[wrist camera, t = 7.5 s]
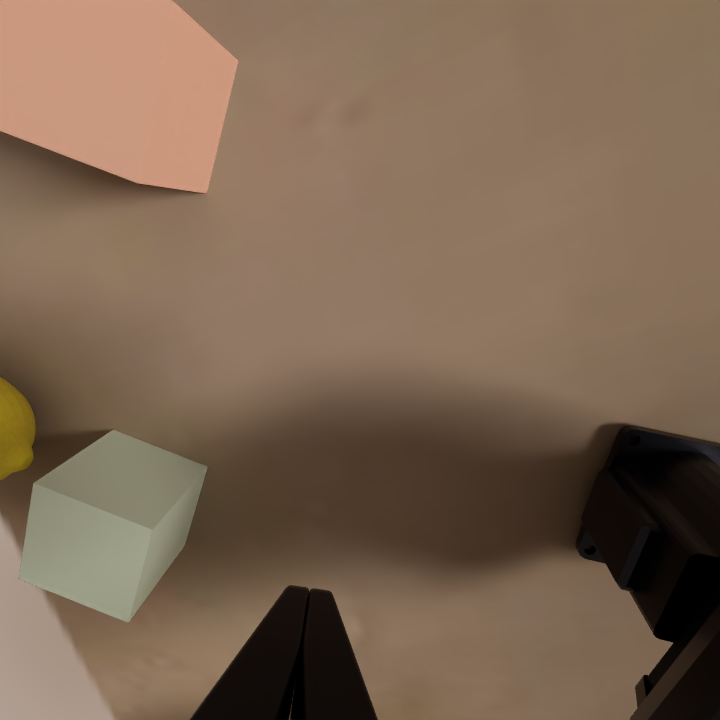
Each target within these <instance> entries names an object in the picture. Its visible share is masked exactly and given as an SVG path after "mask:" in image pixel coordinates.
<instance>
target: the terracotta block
mask: <svg viewBox="0 0 720 720" xmlns="http://www.w3.org/2000/svg"><path fill="white" fill-rule="evenodd" d="M237 64H238V60H237V59H236V58H235V57H234V56H232V55H231V54H230V53H229V52H228V51H227V50H226V49H225V48H224V47H223V46H221V45H220V44H219V43H218V42H217V41H216V40H215V39H214V38H213V37H212V36H211V35H209V34H208V33H207V32H206V31H205V30H204V29H203V28H202V27H201V26H200V25H198V24H197V23H196V22H195V21H194V20H193V19H192V18H191V17H190V16H189V15H187V14H186V13H185V12H184V11H183V10H182V9H181V8H180V7H179V6H178V5H177V4H175V3H174V2H173V1H172V0H0V131H2V132H4V133H7V134H10V135H12V136H15V137H18V138H20V139H23V140H25V141H28V142H31V143H33V144H36V145H39V146H41V147H44V148H46V149H49V150H52V151H54V152H57V153H59V154H62V155H65V156H67V157H70V158H73V159H75V160H78V161H80V162H83V163H86V164H88V165H91V166H94V167H96V168H99V169H101V170H104V171H107V172H109V173H112V174H115V175H117V176H120V177H122V178H125V179H128V180H130V181H133V182H135V183H140V184H146V185H153V186H160V187H166V188H173V189H180V190H186V191H193V192H200V193H206V194H207V190H208V186H209V182H210V178H211V173H212V169H213V165H214V161H215V157H216V152H217V148H218V144H219V140H220V136H221V131H222V127H223V123H224V119H225V115H226V110H227V106H228V102H229V98H230V94H231V89H232V85H233V81H234V77H235V73H236V68H237Z"/></svg>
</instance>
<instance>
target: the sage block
mask: <svg viewBox="0 0 720 720" xmlns="http://www.w3.org/2000/svg"><path fill="white" fill-rule="evenodd" d="M207 468H208V467H207V466H205V465H202V464H200V463H197V462H195V461H192V460H189V459H187V458H184V457H182V456H179V455H177V454H174V453H171V452H169V451H166V450H164V449H161V448H159V447H156V446H154V445H151V444H148V443H146V442H143V441H141V440H138V439H136V438H133V437H130V436H128V435H125V434H123V433H120V432H118V431H115V430H112V431H110V432H109V433H107V434H106V435H104V436H103V437H101V438H100V439H98V440H97V441H95V442H94V443H92V444H91V445H89V446H88V447H86V448H85V449H83V450H82V451H80V452H79V453H77V454H76V455H74V456H73V457H72V458H70V459H69V460H67V461H66V462H64V463H63V464H61V465H60V466H58V467H57V468H55V469H54V470H52V471H51V472H49V473H48V474H46V475H45V476H43V477H42V478H40V479H39V480H37V481H36V482H34V483H33V489H32V495H31V502H30V508H29V515H28V521H27V528H26V534H25V541H24V547H23V554H22V560H21V567H20V573H19V580H22V581H24V582H27V583H29V584H32V585H35V586H37V587H40V588H42V589H45V590H47V591H50V592H52V593H55V594H57V595H60V596H62V597H65V598H67V599H70V600H72V601H75V602H77V603H80V604H82V605H85V606H87V607H90V608H93V609H95V610H98V611H100V612H103V613H105V614H108V615H110V616H113V617H115V618H118V619H120V620H123V621H125V622H128V623H129V621H130V620H131V619H132V617H133V616H134V615H135V613H136V612H137V610H138V609H139V608H140V606H141V605H142V604H143V602H144V601H145V599H146V598H147V597H148V595H149V594H150V593H151V591H152V590H153V589H154V587H155V586H156V584H157V583H158V582H159V580H160V579H161V578H162V576H163V575H164V573H165V572H166V571H167V569H168V568H169V567H170V565H171V564H172V563H173V561H174V560H175V558H176V557H177V556H178V554H179V553H180V552H181V550H182V549H183V547H184V546H185V544H186V540H187V537H188V533H189V530H190V526H191V523H192V519H193V516H194V513H195V509H196V506H197V502H198V499H199V495H200V492H201V489H202V485H203V482H204V478H205V475H206V471H207Z"/></svg>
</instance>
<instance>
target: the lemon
mask: <svg viewBox="0 0 720 720" xmlns="http://www.w3.org/2000/svg"><path fill="white" fill-rule="evenodd" d="M35 432H36V423H35V417H34V414H33V411H32V409H31V407H30V405H29V403H28V401H27V399H26V398H25V397H24V396H23V394H22V393H21V392H19V391H18V390H17V389H16V388H15V387H14V386H12V385H11V384H10V383H8V382H7V381H6V380H4V379H3V378H1V377H0V481H1V480H3V479H4V478H6V477H7V476H8V475H10V474H11V473H14V472H18V471H21V470H25V469H26V468H28V467H29V466H30V465H31V463H32V462H33V459H34V457H33V451H32V445H33V442H34V438H35Z"/></svg>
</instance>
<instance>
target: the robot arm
mask: <svg viewBox="0 0 720 720" xmlns="http://www.w3.org/2000/svg"><path fill="white" fill-rule="evenodd" d="M632 435H636V438H635V440H634V441H632V442H627V439H628V438H629V437H630V436H632ZM581 519H582V521H583V525H582V527H581V530H580V532H579V535H578V538H577V540H576V548H577V550H578V552H579V554H580V555H581V556H582V557H583V558H585V559H589V560H593V561H597V562H601V563H606V565H607V567H608V569H609V570H610V572H611V574H612V576H613V578H614V579H615V581H616V583H617V584H618V586H619V587H620V588H621V589H622V590H626V591H629V592H630V594H631V596H632V597H633V599H634V601H635V603H636V604H637V606H638V608H639V609H640V611H641V613H642V615H643V616H644V618H645V620H646V622H647V623H648V625H649V627H650V629H651V630H652V632H653V634H654V635H655V637H656V638H659V639H661V640H665V641H670V642H673V644H672V646H671V647H670V648H669V650H668V651H667V652H666V654H665V655H664V656H663V657H662V659H661V660H660V661H659V663H658V664H657V665H656V667H655V668H654V669H653V670H652V672H651V673H650V674H649V676H648V675H644V676H643V677H642V678H641V680H640V681H639V682H638V683H637V685H636V687H635V690H636V698H637V706H638V708H637V710H636V711H635V712H634V714H633V715H632V716H631V717H630V720H720V444H718V443H713V442H709V441H704V440H699V439H694V438H690V437H685V436H680V435H676V434H671V433H666V432H662V431H657V430H652V429H647V428H643V427H638V426H630V425H629V426H626V427H623V428H622V429H621V430H620V431H619V432H618V434H617V437H616V439H615V442H614V444H613V447H612V450H611V452H610V455H609V457H608V460H607V463H606V465H605V468H603V469H602V470H601V471H599V473H598V475H597V478H596V480H595V483H594V486H593V488H592V491H591V494H590V496H589V499H588V501H587V504H586V507H585V509H584V512H583V514H582V517H581ZM588 545H593V546H592V547H591V548H589V549H585V547H586V546H588ZM308 596H309V597H308ZM294 686H295V687H294ZM293 692H294V693H293ZM292 698H293V700H292ZM291 705H292V707H291ZM290 710H291V714H290ZM289 716H290V720H378V719H377V716H376V713H375V710H374V708H373V705H372V702H371V699H370V697H369V694H368V691H367V688H366V685H365V683H364V680H363V677H362V674H361V672H360V669H359V666H358V663H357V660H356V658H355V655H354V652H353V649H352V647H351V644H350V641H349V638H348V635H347V633H346V630H345V627H344V624H343V622H342V619H341V616H340V613H339V610H338V608H337V605H336V602H335V599H334V597H333V594H332V593H331V592H330V591H328V590H321V589H314V588H313V589H311V590H310V592H309V589H308V588H306V587H300V586H293V585H290V586H288V587H287V588H286V589H285V590H284V591H283V593H282V594H281V595H280V597H279V598H278V599H277V601H276V602H275V604H274V605H273V606H272V608H271V609H270V610H269V612H268V613H267V615H266V616H265V617H264V619H263V620H262V621H261V623H260V624H259V625H258V627H257V628H256V630H255V631H254V632H253V634H252V635H251V636H250V638H249V639H248V640H247V642H246V643H245V645H244V646H243V647H242V649H241V650H240V651H239V653H238V654H237V655H236V657H235V658H234V660H233V661H232V662H231V664H230V665H229V666H228V668H227V669H226V671H225V672H224V673H223V675H222V676H221V677H220V679H219V680H218V681H217V683H216V684H215V686H214V687H213V688H212V690H211V691H210V692H209V694H208V695H207V696H206V698H205V699H204V701H203V702H202V703H201V705H200V706H199V707H198V709H197V710H196V712H195V713H194V714H193V716H192V717H191V718H190V720H289Z"/></svg>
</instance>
